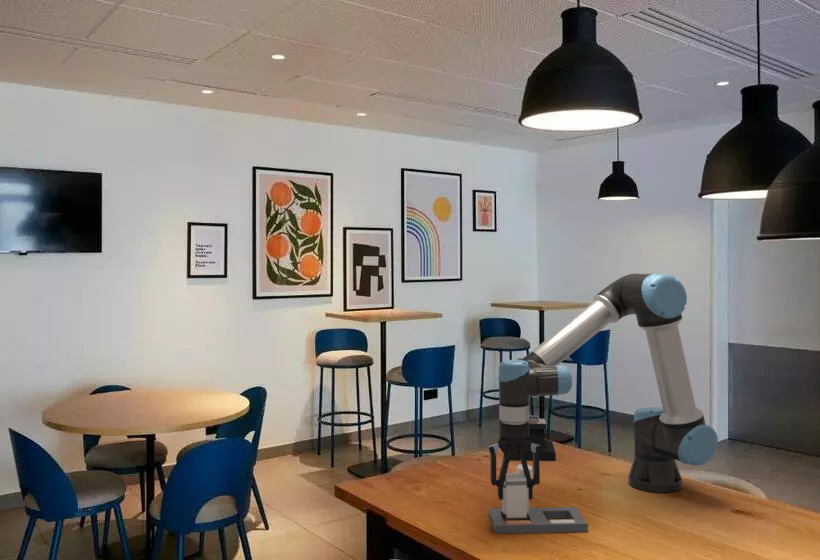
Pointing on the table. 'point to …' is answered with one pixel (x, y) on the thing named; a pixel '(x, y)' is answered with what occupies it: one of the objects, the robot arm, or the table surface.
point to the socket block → (540, 521)
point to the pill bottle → (520, 470)
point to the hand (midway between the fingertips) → (515, 511)
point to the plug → (516, 495)
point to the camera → (539, 441)
